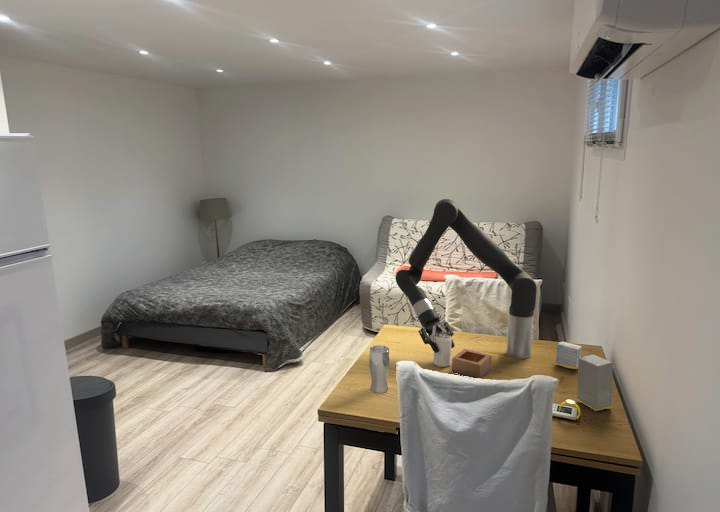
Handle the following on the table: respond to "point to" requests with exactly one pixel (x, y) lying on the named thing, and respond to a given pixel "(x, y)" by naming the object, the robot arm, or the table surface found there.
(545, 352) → the table surface
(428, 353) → the table surface
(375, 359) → the beer glass
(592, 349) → the table surface
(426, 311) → the robot arm
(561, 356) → the medicine box
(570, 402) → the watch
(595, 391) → the skincare box
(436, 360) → the can
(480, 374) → the box
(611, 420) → the table surface
